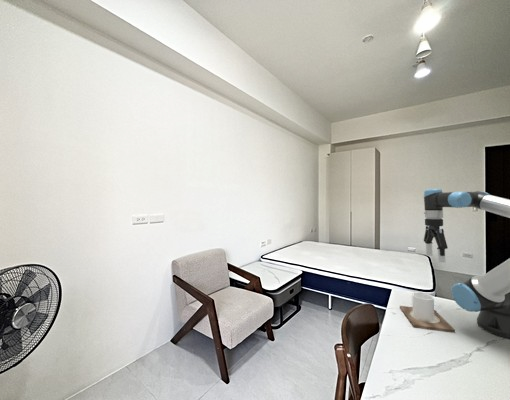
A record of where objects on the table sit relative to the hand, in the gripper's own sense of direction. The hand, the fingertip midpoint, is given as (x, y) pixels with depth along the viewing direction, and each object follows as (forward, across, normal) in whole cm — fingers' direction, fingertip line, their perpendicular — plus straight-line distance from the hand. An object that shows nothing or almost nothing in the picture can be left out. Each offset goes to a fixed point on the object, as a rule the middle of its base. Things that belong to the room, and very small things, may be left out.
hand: (435, 258), depth 116 cm
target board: (+29, +8, -8) cm, 31 cm away
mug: (+28, +8, -8) cm, 30 cm away
